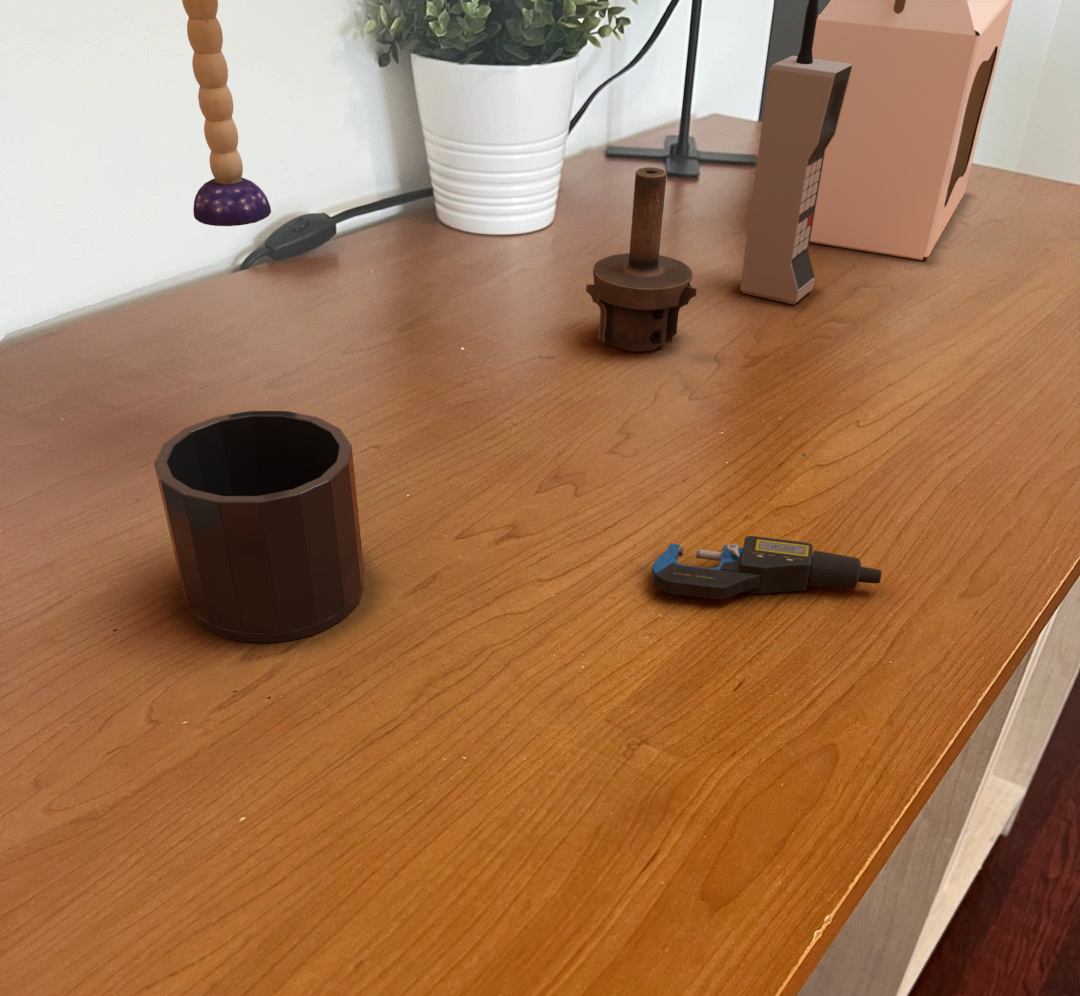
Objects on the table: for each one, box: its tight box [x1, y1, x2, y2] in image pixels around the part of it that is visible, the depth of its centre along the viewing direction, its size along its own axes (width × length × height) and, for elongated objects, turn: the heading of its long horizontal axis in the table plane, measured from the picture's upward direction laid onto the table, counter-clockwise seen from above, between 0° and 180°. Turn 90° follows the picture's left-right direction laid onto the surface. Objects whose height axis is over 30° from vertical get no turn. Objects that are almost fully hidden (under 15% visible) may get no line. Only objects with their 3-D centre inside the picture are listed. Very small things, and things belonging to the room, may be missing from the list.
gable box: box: [810, 0, 1014, 261], centre depth 100 cm, size 22×13×28 cm, turn 156°
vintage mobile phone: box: [739, 0, 852, 305], centre depth 85 cm, size 4×5×25 cm
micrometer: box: [651, 535, 883, 600], centre depth 60 cm, size 12×2×5 cm
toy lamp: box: [181, 0, 272, 227], centre depth 58 cm, size 5×5×17 cm
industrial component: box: [585, 166, 698, 352], centre depth 81 cm, size 9×7×12 cm
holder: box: [153, 410, 365, 644], centre depth 57 cm, size 9×9×8 cm
